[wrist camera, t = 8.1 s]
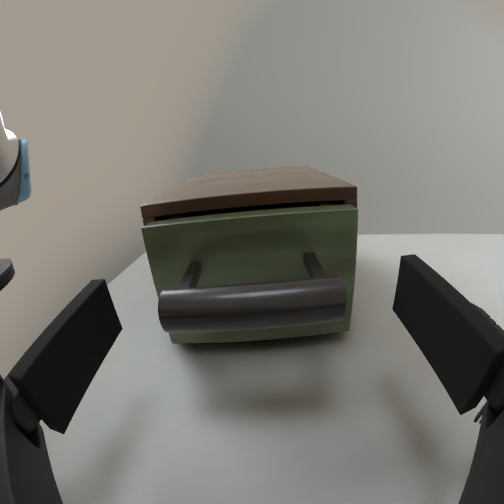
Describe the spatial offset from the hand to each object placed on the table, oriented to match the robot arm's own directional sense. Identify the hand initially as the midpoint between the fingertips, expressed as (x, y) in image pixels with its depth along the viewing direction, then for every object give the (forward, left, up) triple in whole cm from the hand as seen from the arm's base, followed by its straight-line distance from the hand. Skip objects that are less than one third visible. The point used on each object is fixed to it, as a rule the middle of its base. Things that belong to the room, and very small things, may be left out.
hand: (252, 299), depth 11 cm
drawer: (-7, +4, -5) cm, 10 cm away
